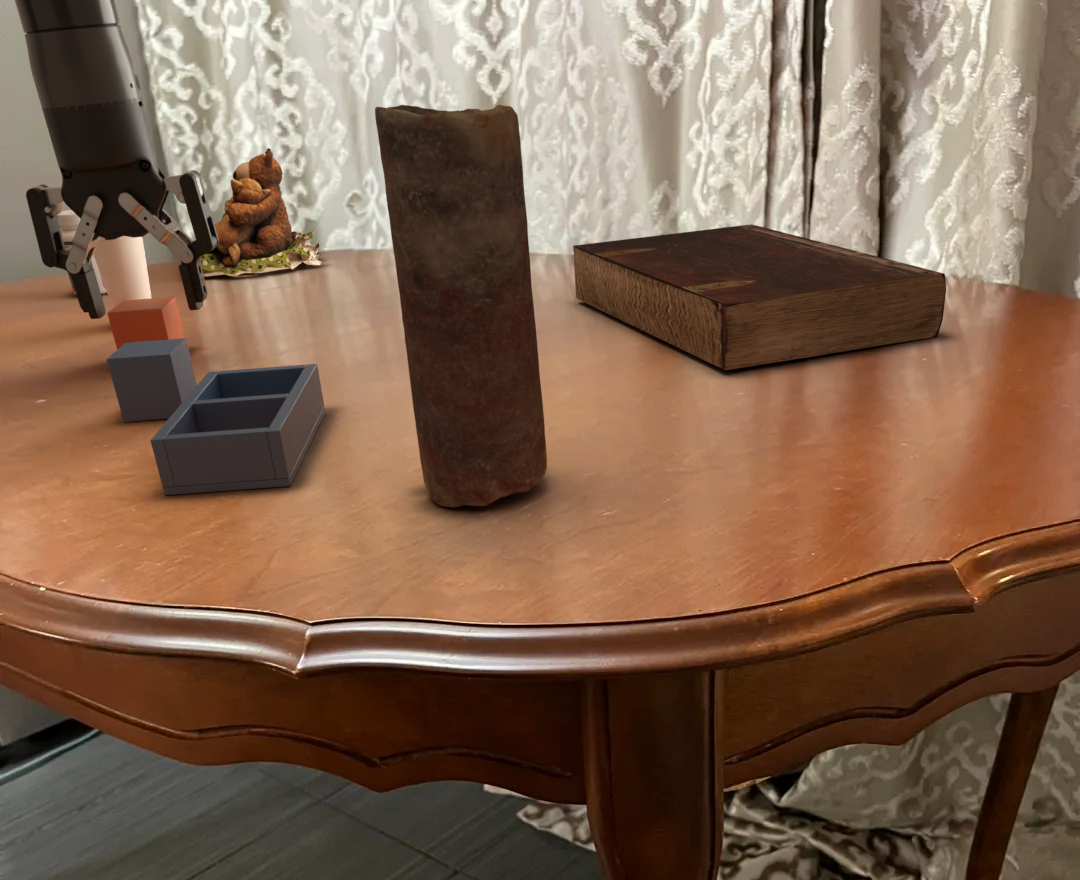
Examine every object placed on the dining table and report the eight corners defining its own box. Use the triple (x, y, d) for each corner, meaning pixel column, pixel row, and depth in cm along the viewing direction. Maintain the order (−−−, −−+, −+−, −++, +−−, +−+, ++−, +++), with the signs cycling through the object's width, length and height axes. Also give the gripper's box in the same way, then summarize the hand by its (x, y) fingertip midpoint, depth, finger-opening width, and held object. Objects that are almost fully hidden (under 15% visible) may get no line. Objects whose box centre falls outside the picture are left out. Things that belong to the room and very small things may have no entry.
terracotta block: (121, 368, 96) (106, 312, 93) (137, 354, 100) (123, 300, 97) (174, 364, 96) (161, 308, 93) (188, 350, 99) (175, 296, 97)
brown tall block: (425, 470, 69) (377, 101, 58) (543, 460, 69) (517, 90, 58) (423, 517, 62) (369, 112, 52) (553, 505, 62) (526, 99, 52)
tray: (164, 495, 68) (149, 439, 66) (219, 420, 81) (207, 371, 79) (290, 486, 68) (279, 430, 66) (325, 412, 81) (317, 363, 79)
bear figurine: (198, 263, 137) (174, 152, 130) (321, 250, 139) (303, 140, 132) (189, 284, 125) (162, 164, 119) (323, 270, 127) (303, 151, 121)
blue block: (123, 422, 82) (106, 358, 80) (141, 403, 86) (125, 342, 83) (185, 417, 82) (169, 354, 79) (200, 399, 86) (186, 337, 83)
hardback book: (940, 336, 86) (948, 267, 84) (724, 375, 81) (726, 304, 79) (752, 274, 110) (754, 219, 107) (576, 302, 105) (573, 245, 102)
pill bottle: (107, 285, 128) (86, 206, 124) (123, 290, 125) (103, 209, 121) (67, 293, 126) (44, 213, 122) (82, 298, 123) (60, 216, 118)
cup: (100, 325, 111) (64, 193, 104) (151, 314, 113) (119, 184, 107) (121, 332, 107) (85, 196, 101) (173, 321, 110) (141, 187, 103)
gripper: (-19, 110, 84) (51, 331, 93) (168, 91, 83) (220, 315, 92) (19, 102, 90) (80, 310, 99) (192, 85, 90) (239, 295, 98)
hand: (147, 312), depth 95 cm, fingers open, 8 cm apart
